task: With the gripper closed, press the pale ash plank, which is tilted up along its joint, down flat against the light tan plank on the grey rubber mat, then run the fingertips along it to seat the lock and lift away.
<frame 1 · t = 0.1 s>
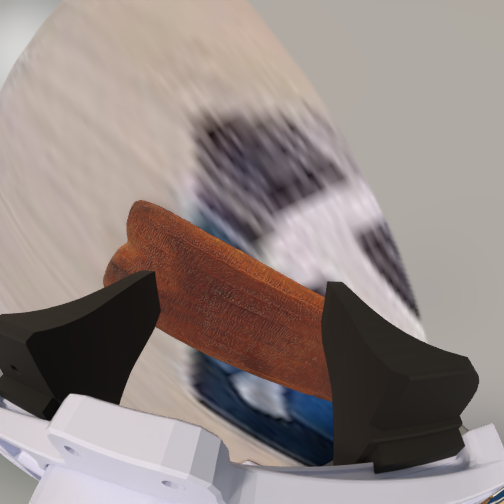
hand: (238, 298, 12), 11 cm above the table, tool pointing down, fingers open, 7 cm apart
wooden tablet: (253, 318, 25), on the table
shard: (475, 501, 33), on the table
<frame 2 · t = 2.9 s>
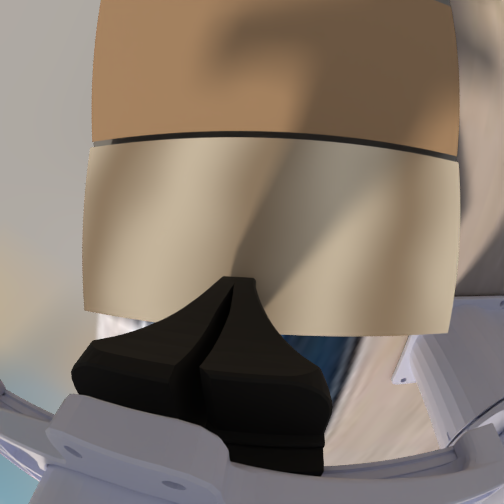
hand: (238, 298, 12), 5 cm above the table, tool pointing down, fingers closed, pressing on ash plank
floor base: (274, 131, 14), on the table
ash plank: (269, 235, 13), point 3 cm above the table, hinge at 19.6°, touching gripper
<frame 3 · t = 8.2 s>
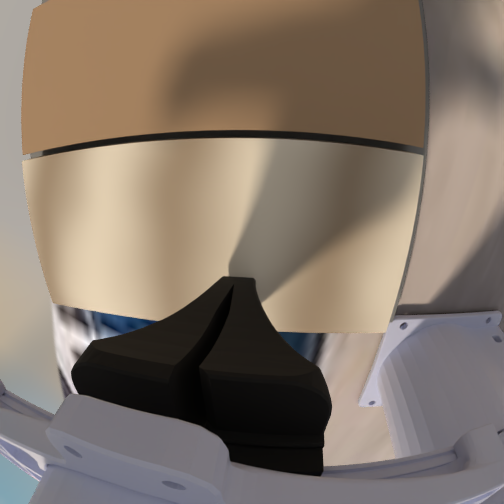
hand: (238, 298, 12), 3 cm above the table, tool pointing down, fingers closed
floor base: (200, 130, 12), on the table
ash plank: (193, 236, 12), point 2 cm above the table, hinge at -0.7°, touching floor base
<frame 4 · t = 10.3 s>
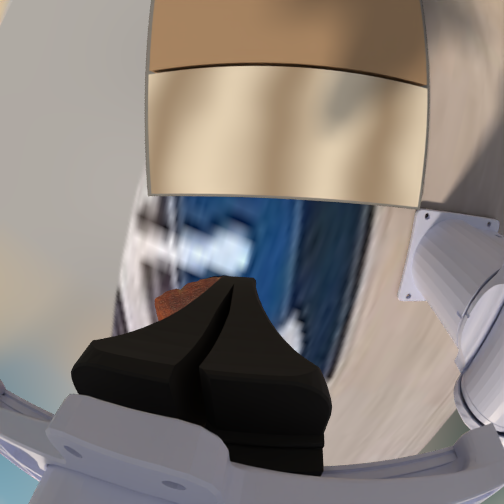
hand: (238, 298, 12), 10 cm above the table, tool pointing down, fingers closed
wooden tablet: (238, 381, 30), on the table
floor base: (289, 70, 17), on the table
ash plank: (289, 130, 17), point 2 cm above the table, hinge at -0.7°, touching floor base
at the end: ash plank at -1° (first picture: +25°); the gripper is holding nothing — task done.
